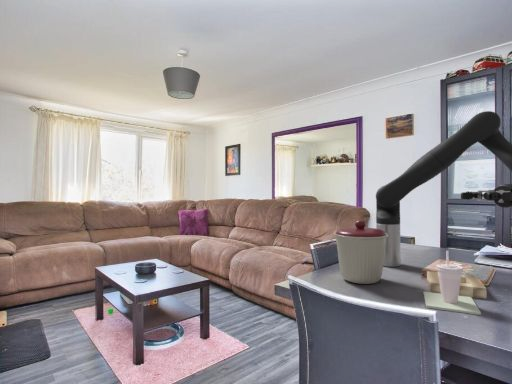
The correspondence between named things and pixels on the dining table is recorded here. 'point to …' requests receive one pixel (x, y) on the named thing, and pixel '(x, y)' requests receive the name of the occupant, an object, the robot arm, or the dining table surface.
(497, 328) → the dining table surface
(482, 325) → the dining table surface
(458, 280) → the smoothie
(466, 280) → the holder
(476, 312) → the mat
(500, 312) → the dining table surface
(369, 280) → the canister
